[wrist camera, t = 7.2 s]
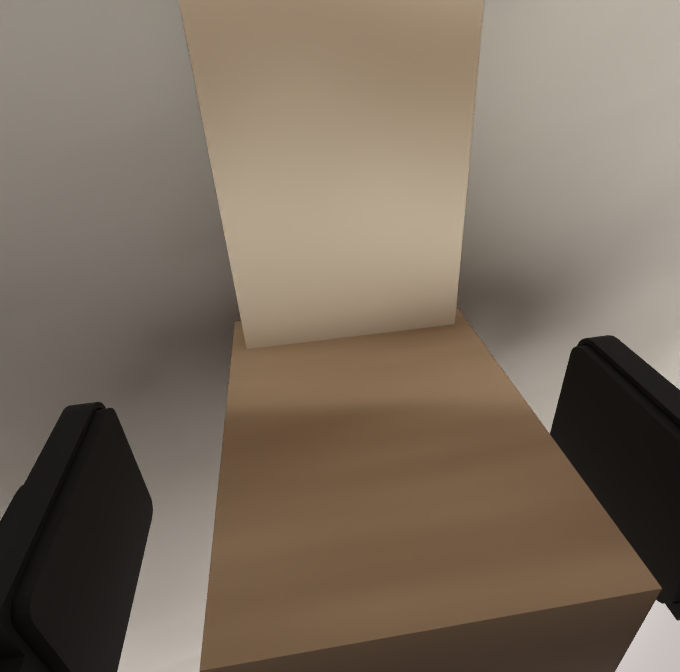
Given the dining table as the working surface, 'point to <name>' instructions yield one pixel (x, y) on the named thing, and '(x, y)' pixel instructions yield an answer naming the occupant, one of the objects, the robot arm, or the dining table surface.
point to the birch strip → (378, 371)
